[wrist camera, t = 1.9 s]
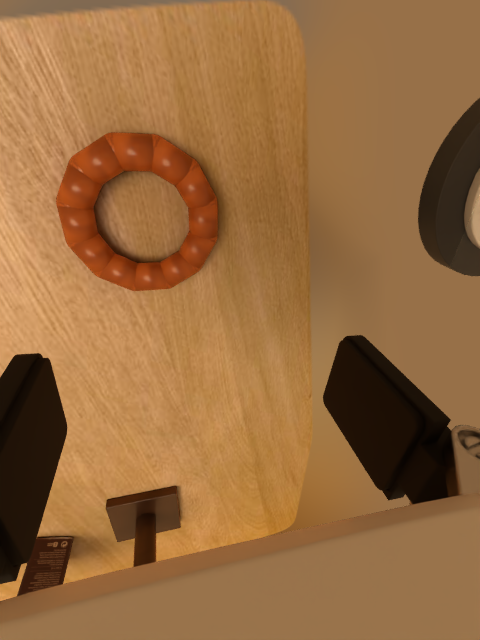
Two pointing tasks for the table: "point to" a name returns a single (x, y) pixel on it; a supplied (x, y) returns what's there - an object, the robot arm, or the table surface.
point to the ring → (136, 155)
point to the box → (46, 564)
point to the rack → (144, 520)
